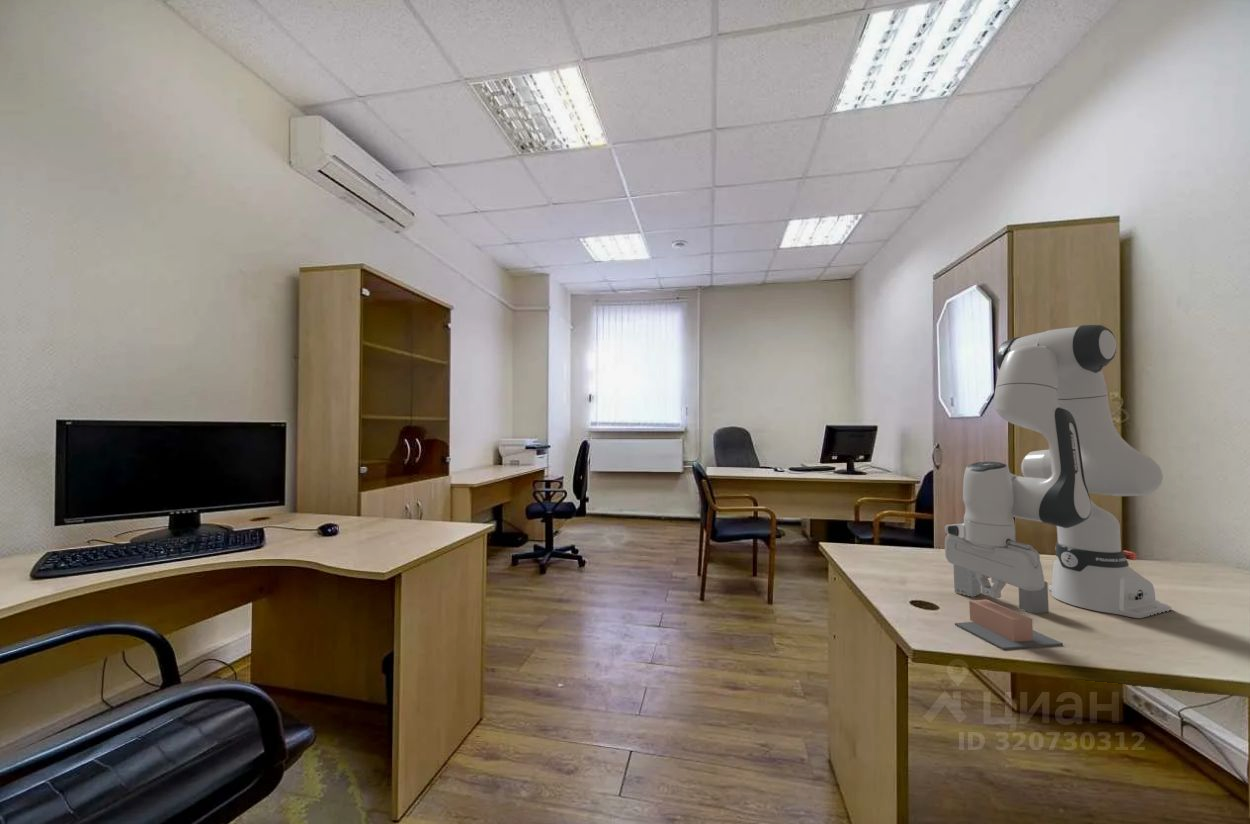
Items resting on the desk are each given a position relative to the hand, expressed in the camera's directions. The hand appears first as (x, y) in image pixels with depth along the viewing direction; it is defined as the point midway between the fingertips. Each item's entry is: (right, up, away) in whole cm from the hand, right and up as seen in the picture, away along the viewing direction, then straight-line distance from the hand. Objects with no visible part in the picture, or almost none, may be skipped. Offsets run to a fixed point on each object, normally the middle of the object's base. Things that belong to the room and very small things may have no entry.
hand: (991, 596), depth 96 cm
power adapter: (+18, -8, +9) cm, 22 cm away
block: (0, -5, +3) cm, 6 cm away
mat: (0, -7, -3) cm, 8 cm away
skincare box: (+11, -8, +20) cm, 24 cm away
